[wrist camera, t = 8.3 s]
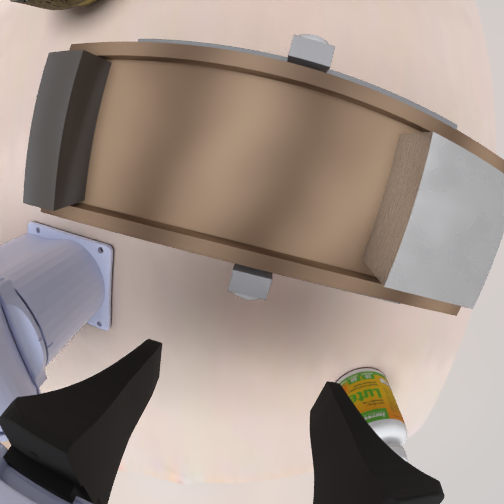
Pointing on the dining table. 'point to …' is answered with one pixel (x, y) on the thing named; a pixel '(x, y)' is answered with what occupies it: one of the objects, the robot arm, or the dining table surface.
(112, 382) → the robot arm
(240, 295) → the stand
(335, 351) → the dining table surface
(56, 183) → the seesaw beam
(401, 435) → the supplement bottle
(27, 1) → the cup
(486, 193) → the block
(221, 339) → the dining table surface
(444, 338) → the dining table surface
